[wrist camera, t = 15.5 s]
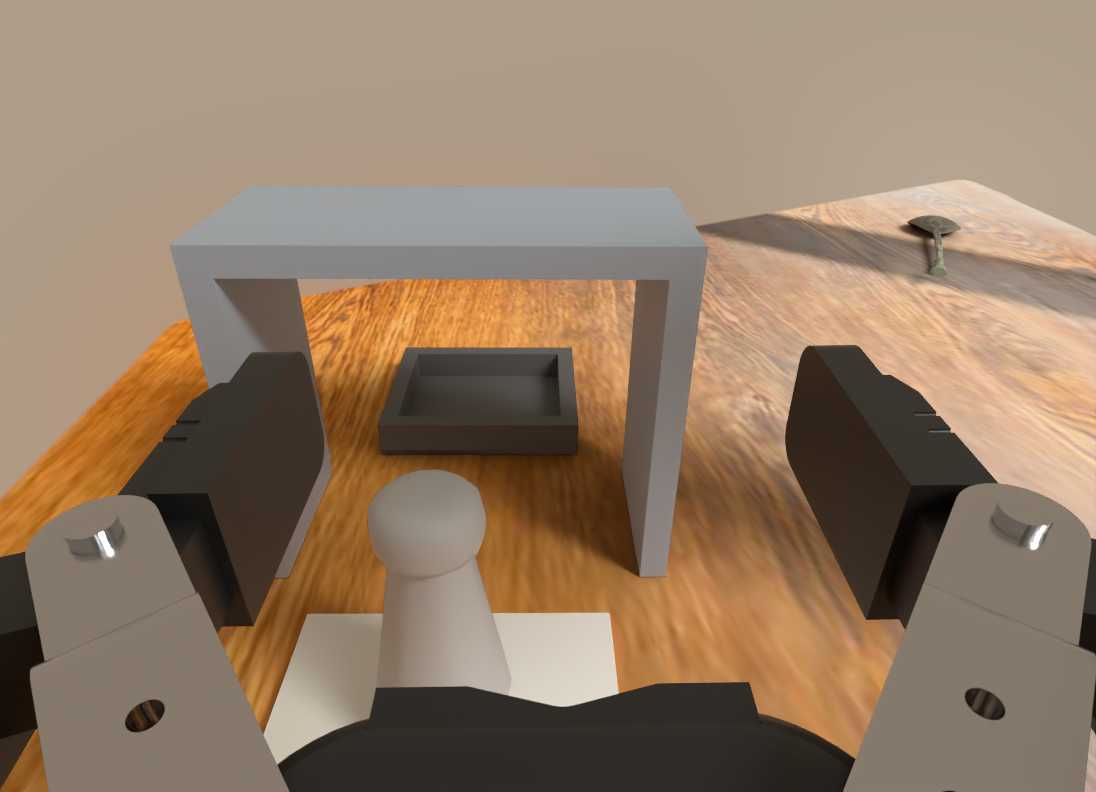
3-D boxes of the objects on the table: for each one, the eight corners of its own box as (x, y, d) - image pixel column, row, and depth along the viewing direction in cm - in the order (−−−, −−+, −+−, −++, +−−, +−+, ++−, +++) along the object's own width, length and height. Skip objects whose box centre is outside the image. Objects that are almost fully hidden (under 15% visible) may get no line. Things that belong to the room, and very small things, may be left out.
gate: (643, 471, 49) (670, 187, 39) (665, 576, 40) (707, 246, 30) (311, 471, 48) (252, 185, 38) (261, 577, 40) (169, 245, 30)
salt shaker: (378, 679, 34) (339, 459, 27) (495, 652, 35) (485, 436, 28) (390, 796, 29) (346, 563, 22) (525, 759, 30) (521, 530, 24)
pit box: (570, 373, 61) (571, 347, 59) (577, 454, 50) (578, 425, 49) (408, 373, 60) (405, 347, 59) (381, 454, 50) (377, 425, 49)
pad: (609, 618, 37) (609, 612, 37) (642, 920, 25) (643, 914, 25) (308, 618, 37) (307, 613, 37) (198, 924, 25) (196, 918, 25)
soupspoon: (955, 235, 98) (904, 231, 101) (961, 211, 97) (909, 207, 99) (966, 282, 81) (904, 276, 83) (974, 254, 79) (910, 248, 81)
